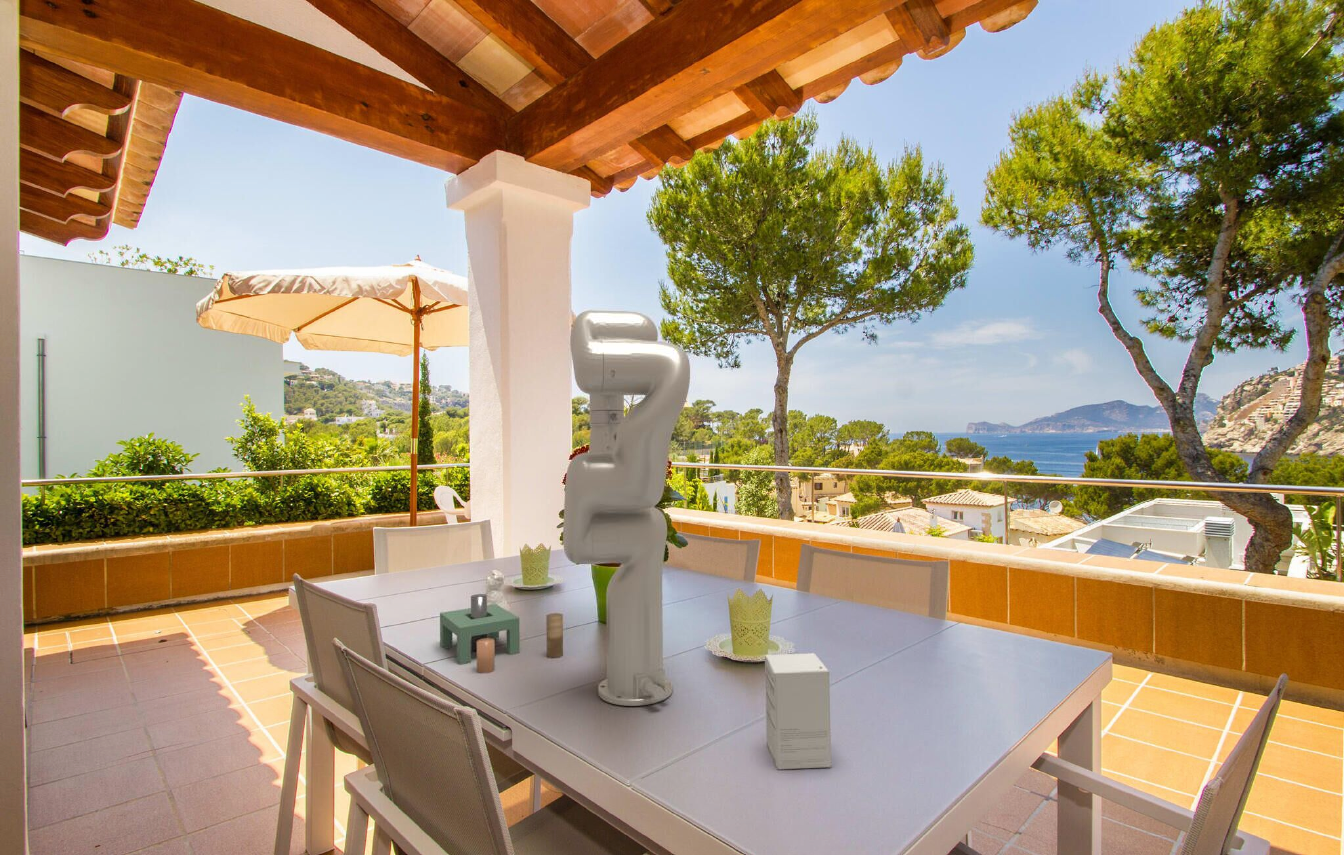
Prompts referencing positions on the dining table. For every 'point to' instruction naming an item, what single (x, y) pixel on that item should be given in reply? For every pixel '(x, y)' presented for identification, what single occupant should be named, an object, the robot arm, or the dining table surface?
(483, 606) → the long pin
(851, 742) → the dining table surface
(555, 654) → the medium pin
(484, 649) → the short pin
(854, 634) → the dining table surface
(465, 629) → the hole bridge
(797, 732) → the supplement box
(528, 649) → the dining table surface
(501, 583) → the white creature statuette
